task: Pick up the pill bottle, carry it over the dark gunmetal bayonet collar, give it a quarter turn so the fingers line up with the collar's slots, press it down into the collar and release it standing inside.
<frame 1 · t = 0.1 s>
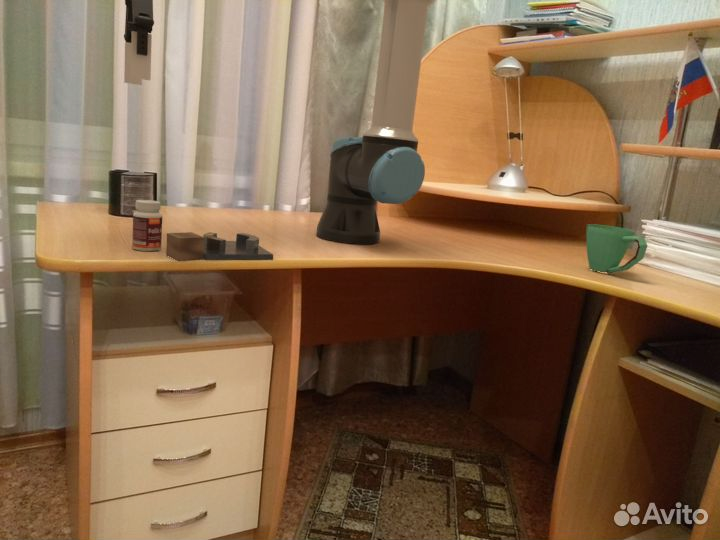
hand: (136, 81, 88), 28 cm above the table, fingers open, 13 cm apart
mug: (609, 275, 121), on the table
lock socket: (230, 252, 100), on the table
pill bottle: (147, 250, 95), on the table
walnut block: (184, 258, 92), on the table
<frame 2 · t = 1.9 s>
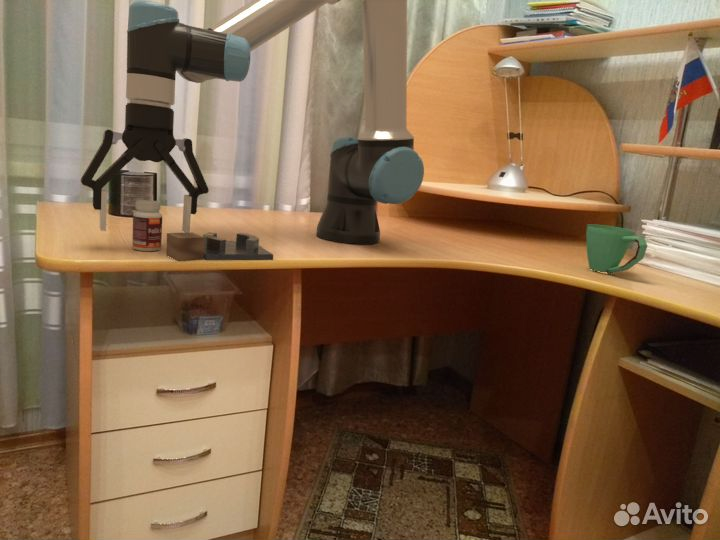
hand: (145, 230, 95), 3 cm above the table, fingers open, 13 cm apart
nothing on the table moved.
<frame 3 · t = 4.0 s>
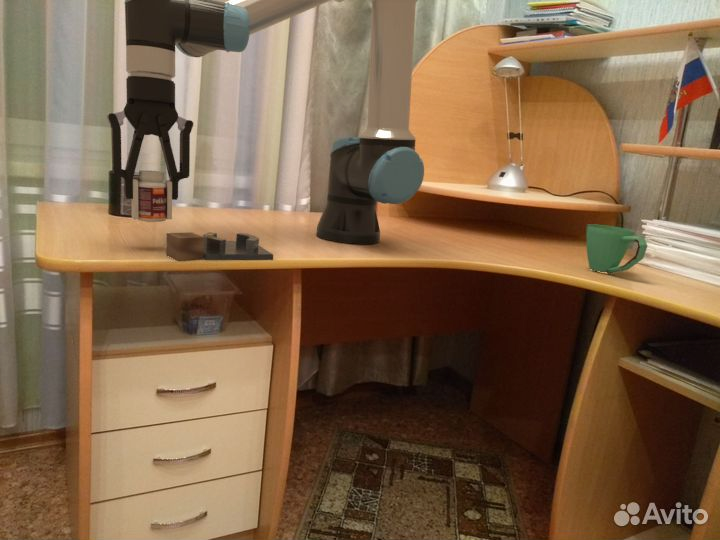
hand: (151, 217, 95), 6 cm above the table, fingers closed on pill bottle, 5 cm apart
pill bottle: (151, 221, 95), point 5 cm above the table, touching gripper
everything else where it was.
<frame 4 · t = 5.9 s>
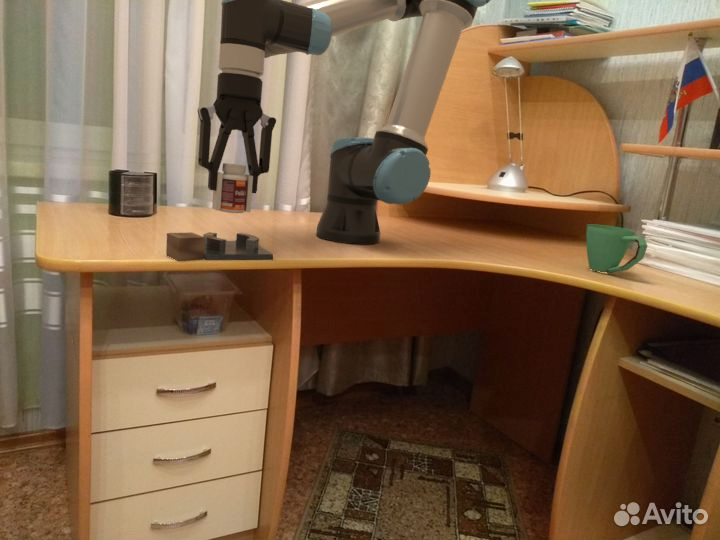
hand: (231, 209, 98), 8 cm above the table, fingers closed on pill bottle, 5 cm apart
pill bottle: (231, 212, 98), point 7 cm above the table, touching gripper
everything else where it was.
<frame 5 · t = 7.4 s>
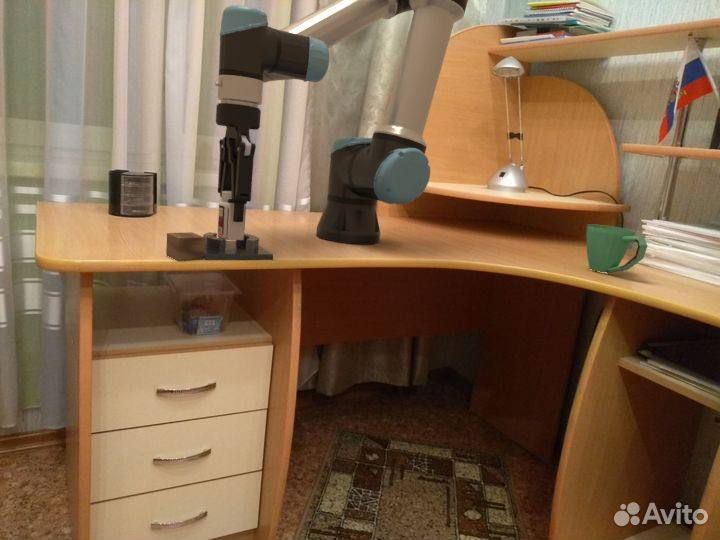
hand: (230, 236, 99), 3 cm above the table, fingers closed on pill bottle, 5 cm apart
pill bottle: (230, 239, 99), point 2 cm above the table, touching gripper
everything else where it was.
when the fingers open (2 cm above the table, at t = 8.2 s): pill bottle stays where it is, resting on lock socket.
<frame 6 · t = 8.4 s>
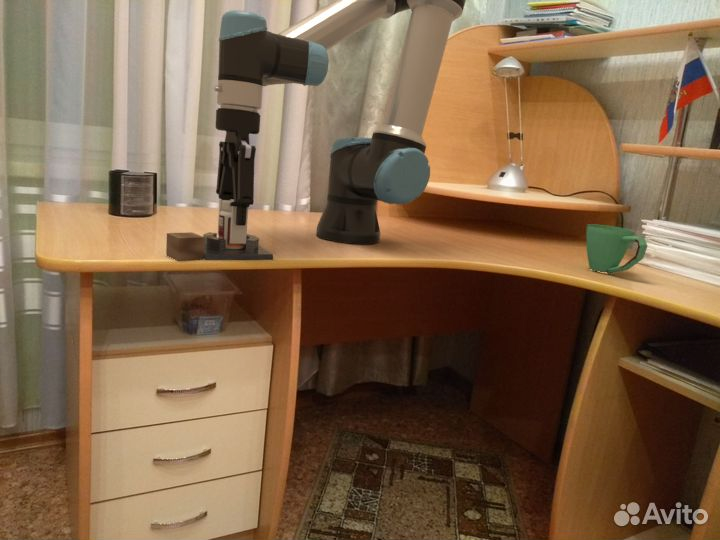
hand: (231, 238, 99), 3 cm above the table, fingers open, 7 cm apart
pill bottle: (231, 248, 100), point 1 cm above the table, touching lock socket
everything else where it was.
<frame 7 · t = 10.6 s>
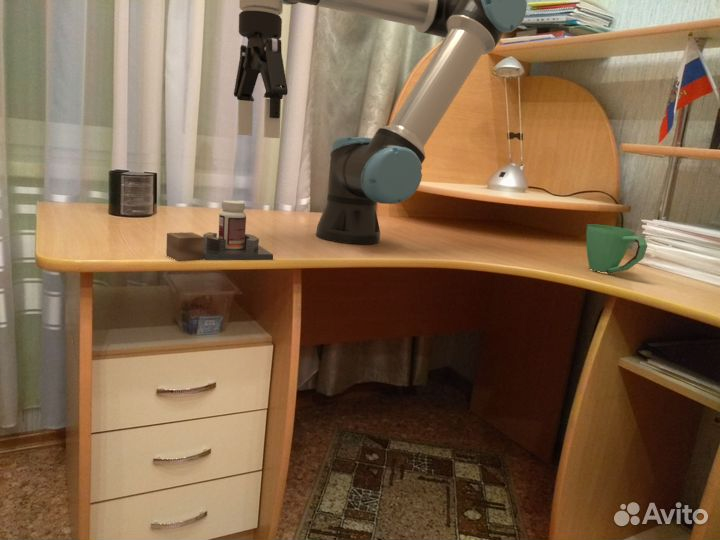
hand: (257, 136, 101), 21 cm above the table, fingers open, 13 cm apart
nothing on the table moved.
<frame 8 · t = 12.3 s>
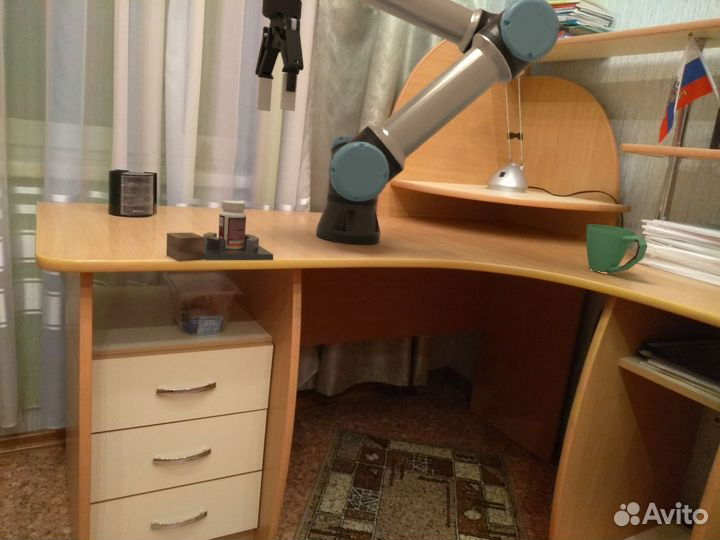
hand: (274, 110, 110), 27 cm above the table, fingers open, 13 cm apart
nothing on the table moved.
at the end: pill bottle 0.1 cm off-centre on the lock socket, point 0.8 cm above the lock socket's base; pill bottle tilted 0°; the gripper is holding nothing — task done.
